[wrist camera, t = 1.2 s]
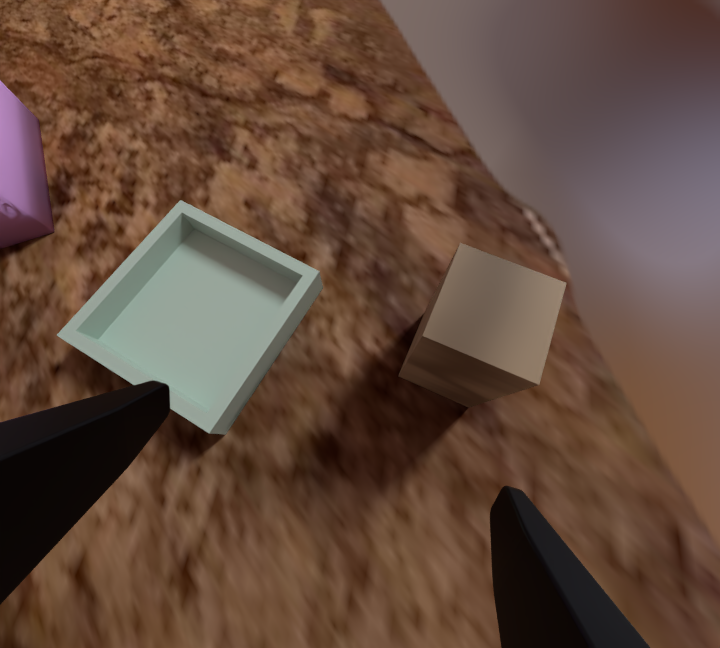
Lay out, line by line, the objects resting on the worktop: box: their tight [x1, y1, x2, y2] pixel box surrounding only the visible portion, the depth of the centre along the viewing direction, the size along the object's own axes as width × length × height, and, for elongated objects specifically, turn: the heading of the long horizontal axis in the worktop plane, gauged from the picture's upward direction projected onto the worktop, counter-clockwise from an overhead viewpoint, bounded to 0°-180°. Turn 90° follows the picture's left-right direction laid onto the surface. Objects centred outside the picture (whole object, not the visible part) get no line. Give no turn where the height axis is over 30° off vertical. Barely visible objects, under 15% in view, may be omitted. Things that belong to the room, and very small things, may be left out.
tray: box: [57, 200, 323, 435], centre depth 23 cm, size 12×12×2 cm
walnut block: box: [398, 243, 566, 407], centre depth 19 cm, size 5×5×9 cm
